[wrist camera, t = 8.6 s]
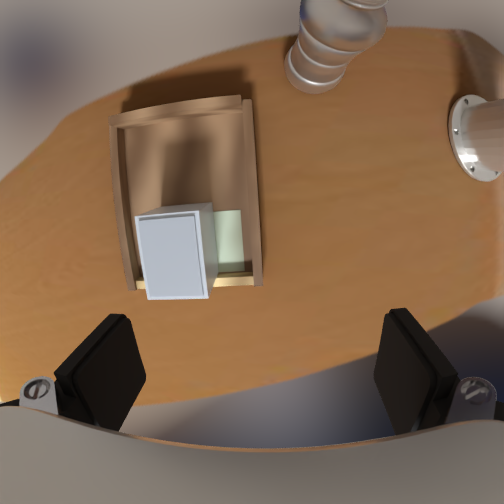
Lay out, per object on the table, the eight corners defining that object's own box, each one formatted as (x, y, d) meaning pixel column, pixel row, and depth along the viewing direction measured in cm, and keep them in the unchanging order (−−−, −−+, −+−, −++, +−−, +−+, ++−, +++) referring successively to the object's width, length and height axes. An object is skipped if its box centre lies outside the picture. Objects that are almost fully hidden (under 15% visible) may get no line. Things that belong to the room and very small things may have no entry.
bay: (252, 105, 30) (251, 93, 25) (262, 276, 35) (263, 293, 30) (120, 124, 30) (100, 118, 25) (137, 281, 35) (121, 297, 31)
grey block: (212, 202, 32) (198, 210, 24) (218, 271, 34) (208, 299, 26) (160, 206, 32) (133, 216, 24) (169, 273, 34) (147, 300, 26)
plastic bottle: (270, 72, 29) (284, -36, 9) (309, 40, 27) (355, -67, 8) (311, 109, 30) (377, 34, 10) (348, 76, 28) (434, -5, 9)
